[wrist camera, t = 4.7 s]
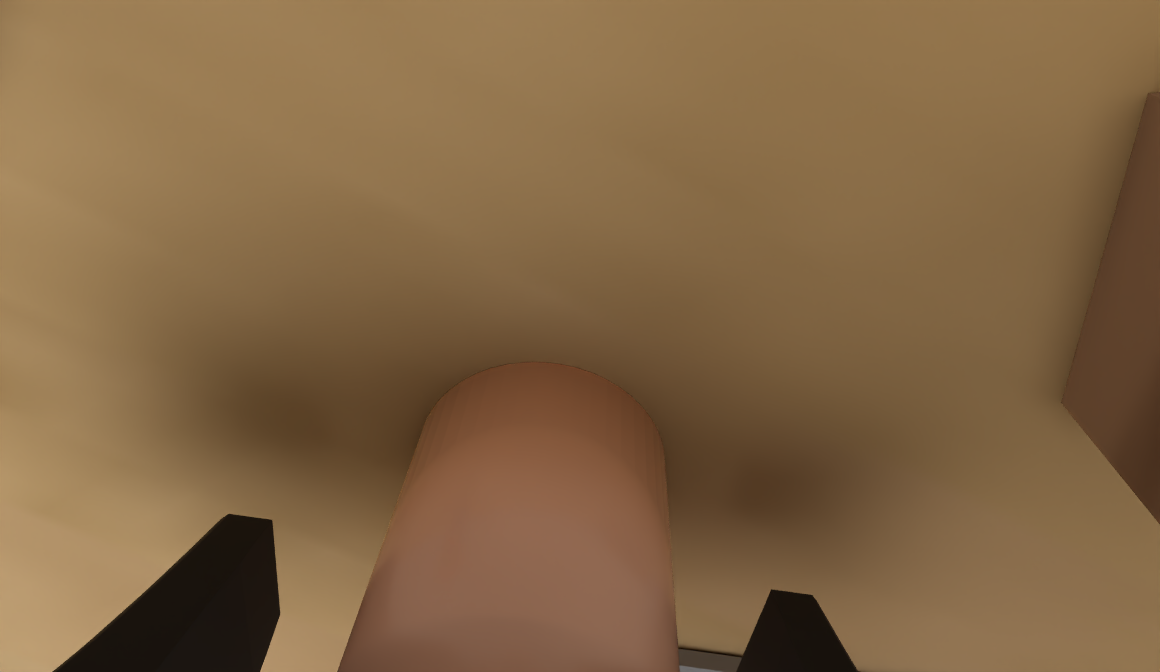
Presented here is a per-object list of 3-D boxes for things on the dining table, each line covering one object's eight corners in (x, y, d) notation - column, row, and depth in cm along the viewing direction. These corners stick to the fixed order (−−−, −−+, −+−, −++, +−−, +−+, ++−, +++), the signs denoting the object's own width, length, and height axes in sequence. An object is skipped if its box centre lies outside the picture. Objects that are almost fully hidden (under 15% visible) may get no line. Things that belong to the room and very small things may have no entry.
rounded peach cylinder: (689, 383, 13) (724, 646, 8) (639, 564, 15) (644, 841, 11) (425, 342, 13) (324, 590, 8) (415, 532, 15) (331, 800, 11)
